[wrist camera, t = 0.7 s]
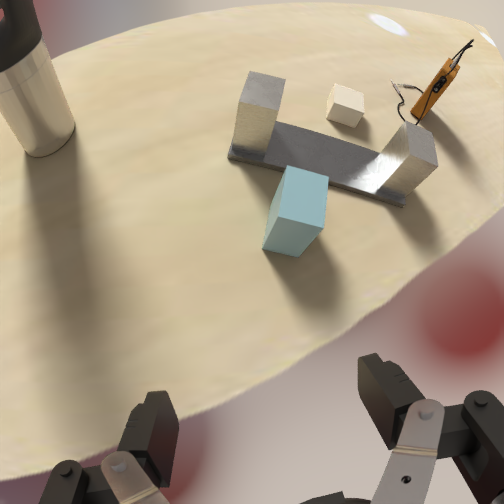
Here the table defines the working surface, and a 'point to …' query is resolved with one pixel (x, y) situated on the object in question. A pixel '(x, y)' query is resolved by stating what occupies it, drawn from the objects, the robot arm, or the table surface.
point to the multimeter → (435, 86)
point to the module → (296, 212)
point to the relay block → (345, 106)
